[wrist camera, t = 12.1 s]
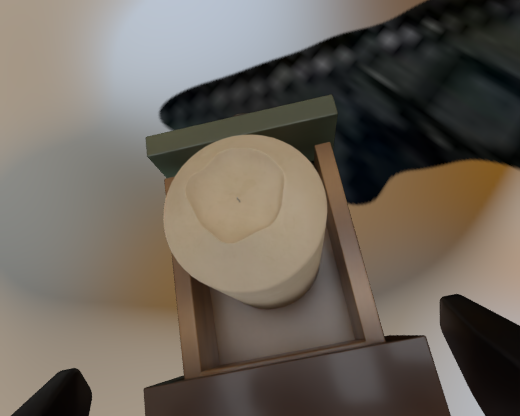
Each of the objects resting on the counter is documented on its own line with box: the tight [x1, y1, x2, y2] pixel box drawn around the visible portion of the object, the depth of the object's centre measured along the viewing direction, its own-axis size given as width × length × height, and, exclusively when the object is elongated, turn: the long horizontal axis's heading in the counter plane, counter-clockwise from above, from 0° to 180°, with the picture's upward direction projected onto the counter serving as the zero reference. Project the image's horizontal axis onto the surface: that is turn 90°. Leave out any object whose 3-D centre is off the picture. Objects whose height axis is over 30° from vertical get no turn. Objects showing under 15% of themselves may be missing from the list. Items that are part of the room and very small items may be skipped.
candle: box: [163, 135, 327, 309], centre depth 16 cm, size 6×6×10 cm
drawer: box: [146, 95, 386, 380], centre depth 20 cm, size 14×10×5 cm
